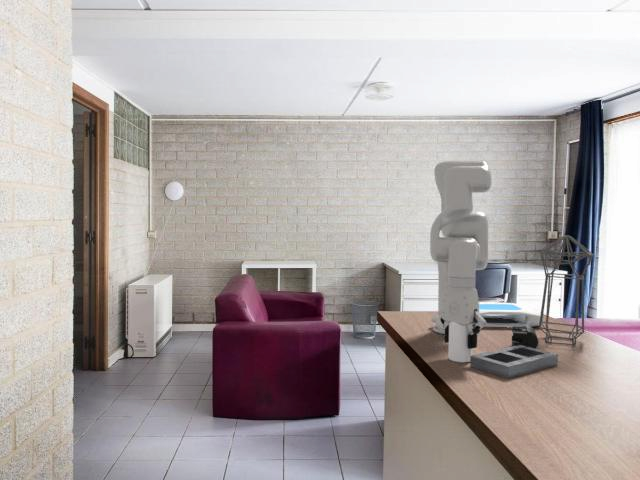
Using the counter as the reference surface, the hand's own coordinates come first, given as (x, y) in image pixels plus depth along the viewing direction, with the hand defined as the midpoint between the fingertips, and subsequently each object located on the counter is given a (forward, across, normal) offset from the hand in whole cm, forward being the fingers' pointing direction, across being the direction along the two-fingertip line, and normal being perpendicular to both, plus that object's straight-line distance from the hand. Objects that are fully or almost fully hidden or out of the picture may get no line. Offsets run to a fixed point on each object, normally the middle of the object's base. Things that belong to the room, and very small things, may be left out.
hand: (460, 344), depth 145 cm
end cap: (+5, +3, +26) cm, 27 cm away
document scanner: (+5, -28, +54) cm, 61 cm away
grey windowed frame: (+4, +12, +8) cm, 15 cm away
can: (+5, 0, 0) cm, 5 cm away
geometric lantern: (+5, +4, +46) cm, 46 cm away
